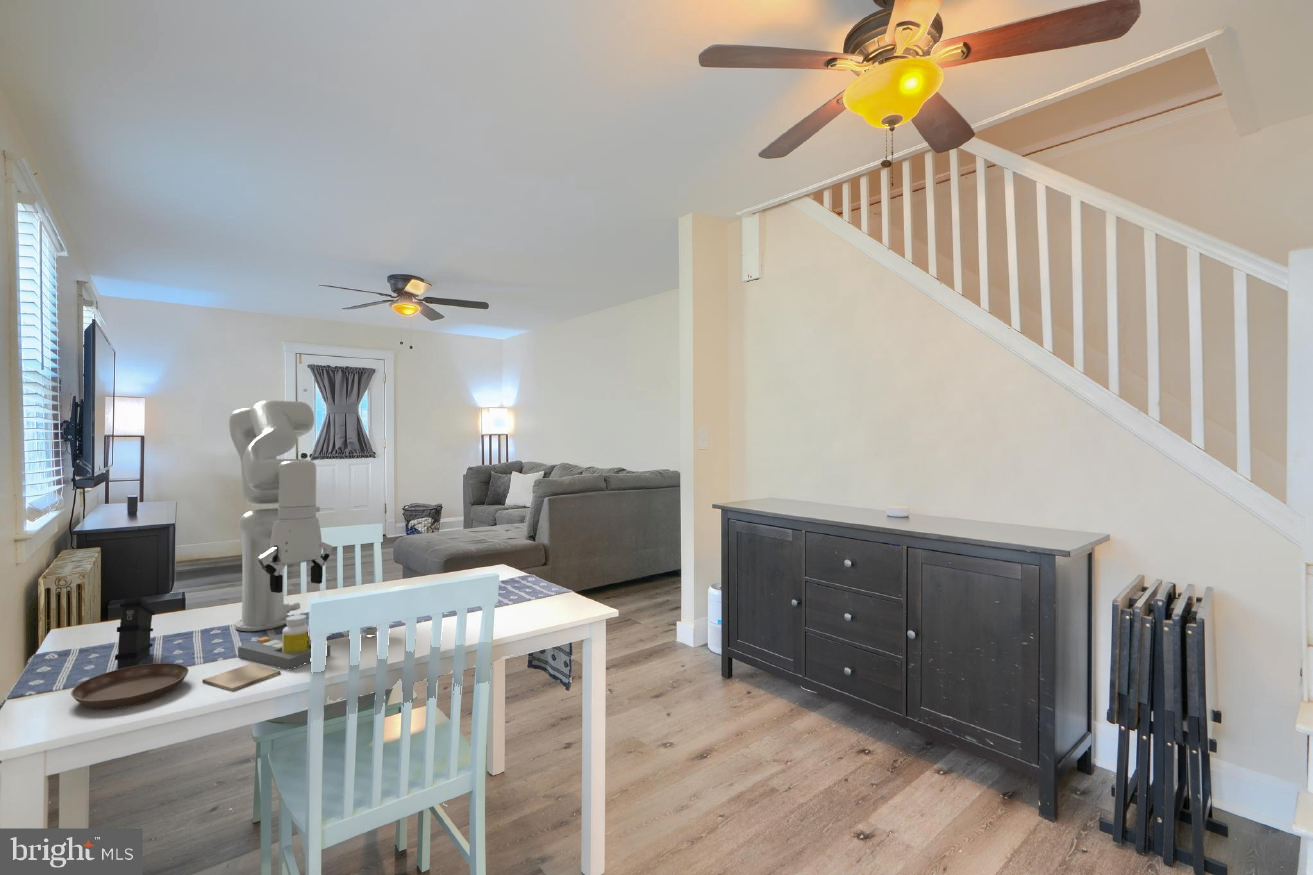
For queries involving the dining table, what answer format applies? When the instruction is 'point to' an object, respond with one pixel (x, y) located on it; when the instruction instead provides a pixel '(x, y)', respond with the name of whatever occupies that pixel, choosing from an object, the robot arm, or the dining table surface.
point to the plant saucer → (129, 685)
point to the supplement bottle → (295, 635)
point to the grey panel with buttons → (274, 653)
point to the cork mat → (241, 677)
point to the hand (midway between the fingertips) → (297, 587)
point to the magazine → (134, 632)
